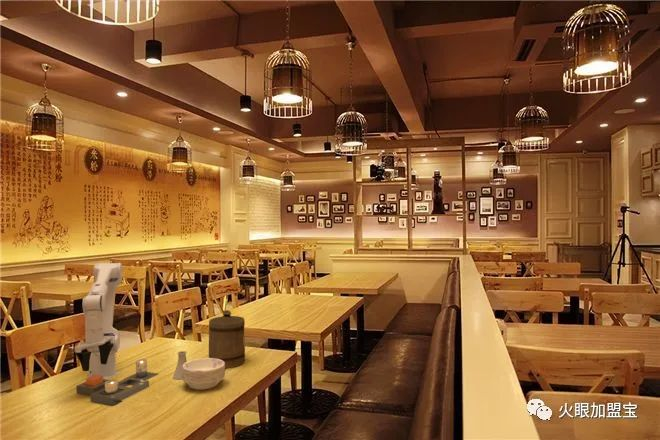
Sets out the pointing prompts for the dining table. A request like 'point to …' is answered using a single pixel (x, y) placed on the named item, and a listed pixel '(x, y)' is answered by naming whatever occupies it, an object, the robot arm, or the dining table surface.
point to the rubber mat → (149, 375)
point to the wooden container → (227, 339)
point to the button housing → (89, 388)
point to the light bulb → (111, 387)
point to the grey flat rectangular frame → (120, 391)
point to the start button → (94, 380)
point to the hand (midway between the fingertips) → (94, 367)
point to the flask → (180, 365)
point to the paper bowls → (203, 372)
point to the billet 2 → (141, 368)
